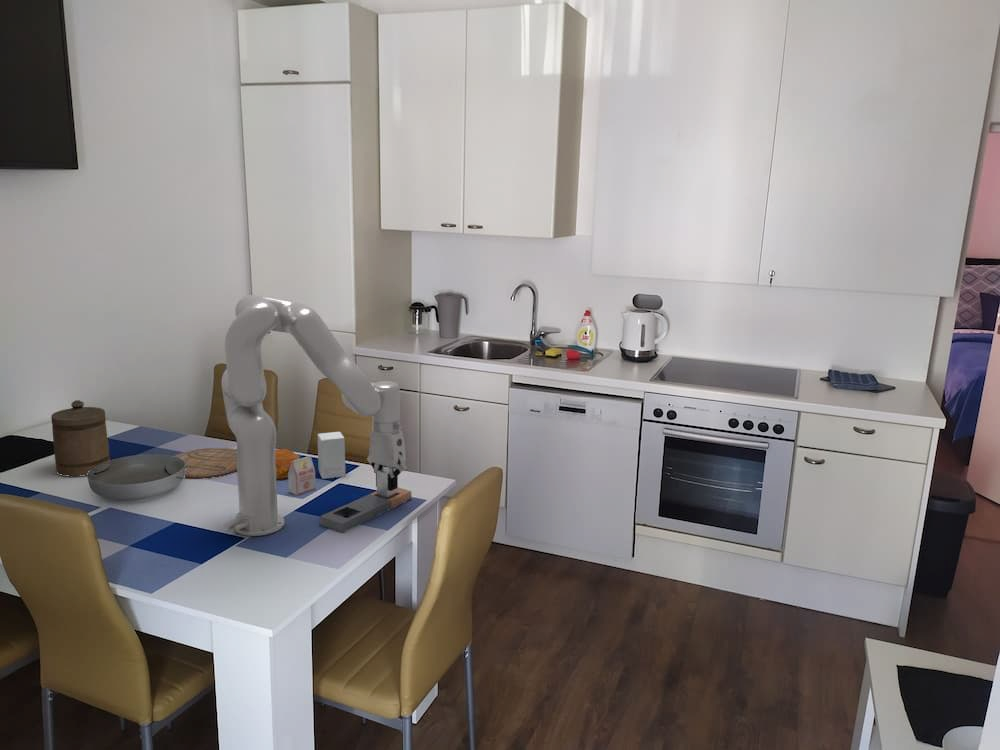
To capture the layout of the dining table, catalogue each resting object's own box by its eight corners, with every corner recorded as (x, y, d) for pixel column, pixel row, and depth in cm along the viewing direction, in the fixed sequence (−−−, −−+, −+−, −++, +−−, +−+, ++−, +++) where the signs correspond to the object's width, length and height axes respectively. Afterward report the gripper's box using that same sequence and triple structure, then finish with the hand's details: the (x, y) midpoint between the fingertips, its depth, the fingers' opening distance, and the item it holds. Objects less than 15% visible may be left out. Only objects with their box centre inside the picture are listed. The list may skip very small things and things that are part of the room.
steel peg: (387, 501, 217) (387, 474, 215) (376, 497, 219) (376, 471, 217) (396, 496, 220) (397, 470, 218) (386, 493, 222) (386, 467, 221)
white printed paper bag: (288, 492, 226) (287, 459, 223) (307, 486, 231) (306, 454, 229) (296, 495, 224) (295, 462, 221) (315, 489, 229) (314, 457, 226)
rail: (342, 532, 200) (341, 523, 199) (320, 525, 204) (319, 516, 204) (411, 499, 223) (411, 491, 222) (390, 493, 227) (390, 485, 226)
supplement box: (346, 476, 239) (345, 437, 236) (321, 479, 236) (320, 440, 233) (341, 468, 246) (340, 431, 243) (318, 471, 243) (316, 433, 240)
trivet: (225, 483, 232) (224, 477, 232) (148, 476, 236) (148, 470, 236) (262, 456, 257) (262, 450, 256) (192, 450, 260) (192, 445, 260)
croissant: (247, 478, 242) (242, 455, 239) (291, 460, 252) (286, 438, 250) (270, 490, 232) (265, 466, 229) (314, 471, 242) (310, 448, 240)
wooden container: (105, 458, 250) (98, 392, 245) (115, 471, 239) (108, 403, 234) (52, 466, 241) (45, 399, 236) (61, 481, 230) (53, 410, 225)
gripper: (418, 428, 213) (418, 490, 218) (373, 417, 222) (373, 477, 226) (400, 434, 207) (400, 498, 211) (354, 423, 216) (355, 484, 220)
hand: (386, 486), depth 219 cm, fingers closed on steel peg, 4 cm apart
